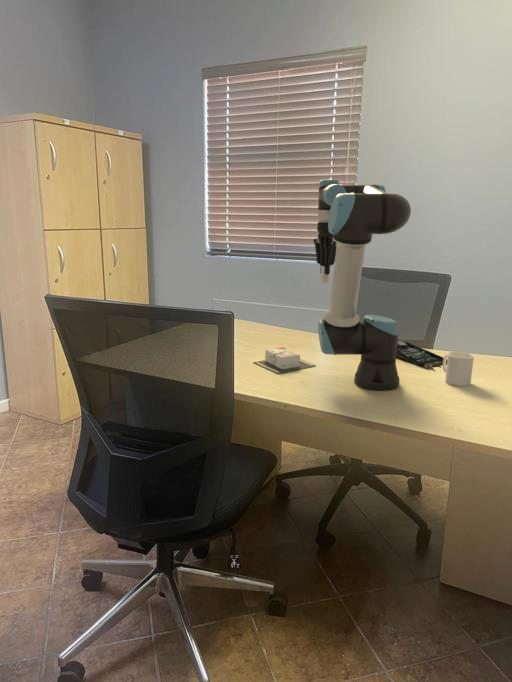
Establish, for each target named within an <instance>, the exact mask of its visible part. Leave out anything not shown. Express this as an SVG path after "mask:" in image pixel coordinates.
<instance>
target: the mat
mask: <svg viewBox="0 0 512 682" xmlns="http://www.w3.org/2000/svg"><path fill="white" fill-rule="evenodd" d="M252 363H253V364H255V365H258V366H259V367H262V368H264V369H265V370H267V371H270V372H273V373H274V374H276V375H281V374H285V373H289V372H290V373H291V372H295V371H299V370H304V369H305V370H306V369H310V368H314V367H316V366H317V365H316V364H313V363H310V362H309V361H306V360H303V359H301V358H300V366H299V367H295V368H288V369H280V368H278V367H276V366H274V365H272V364H270V363H268V362H266V361H265V359H264V360H259V361H254V362H252Z"/></svg>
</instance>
